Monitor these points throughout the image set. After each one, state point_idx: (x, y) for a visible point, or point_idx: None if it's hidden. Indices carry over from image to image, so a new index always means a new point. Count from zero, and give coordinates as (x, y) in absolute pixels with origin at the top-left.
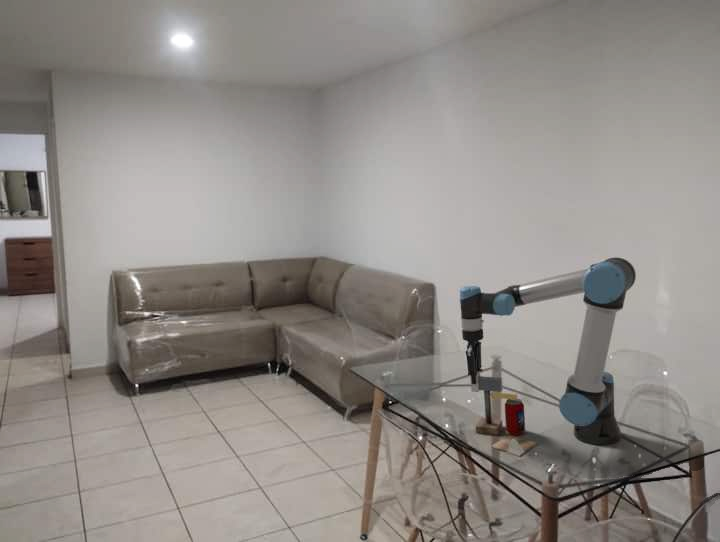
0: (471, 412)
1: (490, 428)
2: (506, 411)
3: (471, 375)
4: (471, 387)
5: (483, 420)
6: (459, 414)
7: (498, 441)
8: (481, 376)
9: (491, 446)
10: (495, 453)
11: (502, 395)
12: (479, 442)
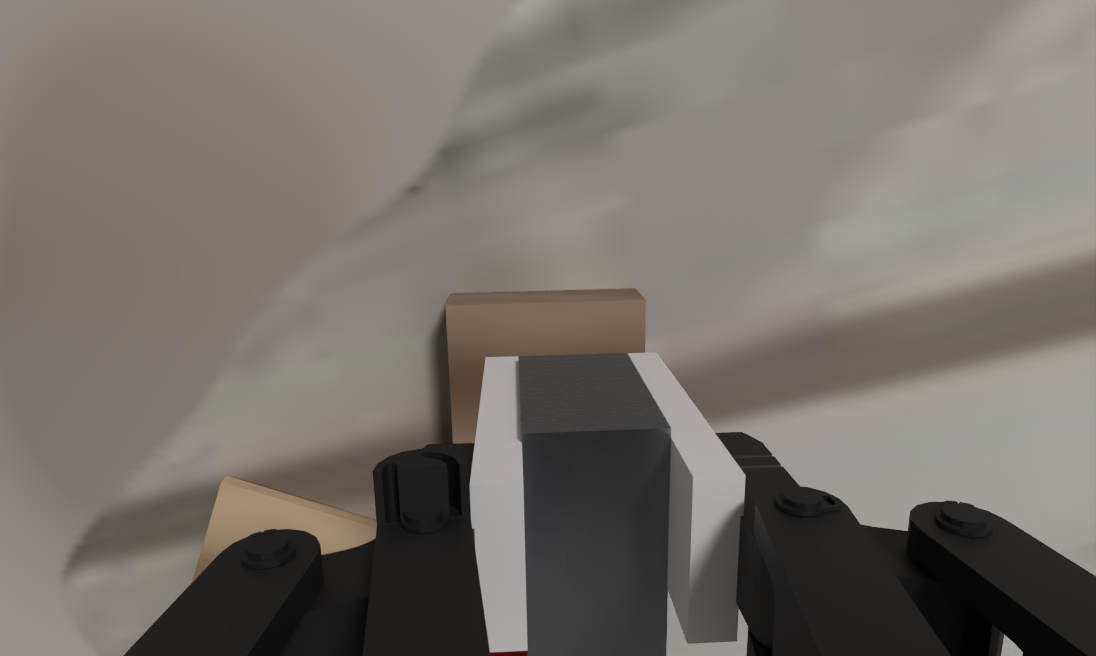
0: (878, 129)
1: (452, 432)
2: (492, 653)
3: (369, 554)
4: (485, 385)
5: (592, 338)
6: (814, 26)
7: (319, 510)
8: (661, 619)
9: (222, 482)
10: (147, 525)
11: None
12: (283, 369)
